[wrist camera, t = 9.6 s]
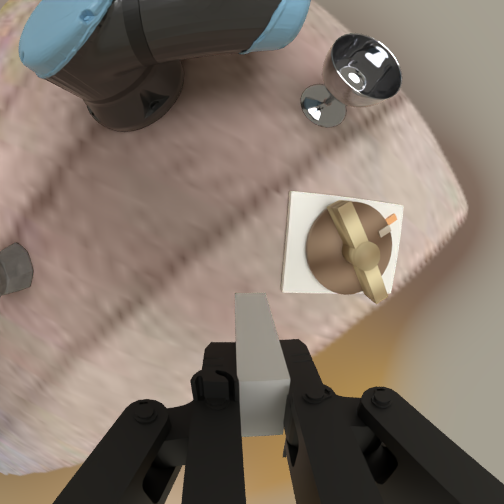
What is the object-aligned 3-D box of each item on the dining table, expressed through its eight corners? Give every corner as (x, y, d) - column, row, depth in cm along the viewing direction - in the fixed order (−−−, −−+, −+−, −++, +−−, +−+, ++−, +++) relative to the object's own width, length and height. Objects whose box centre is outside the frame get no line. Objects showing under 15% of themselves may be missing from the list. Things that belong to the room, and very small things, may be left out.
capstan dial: (287, 225, 36) (297, 231, 30) (366, 182, 35) (387, 181, 29) (329, 309, 39) (343, 327, 33) (398, 266, 38) (419, 276, 32)
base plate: (289, 191, 37) (292, 191, 35) (398, 205, 38) (405, 205, 36) (280, 289, 39) (283, 294, 37) (386, 290, 41) (392, 294, 39)
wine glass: (348, 134, 35) (404, 108, 21) (296, 124, 35) (331, 86, 20) (349, 88, 34) (398, 47, 19) (299, 77, 33) (331, 24, 19)
